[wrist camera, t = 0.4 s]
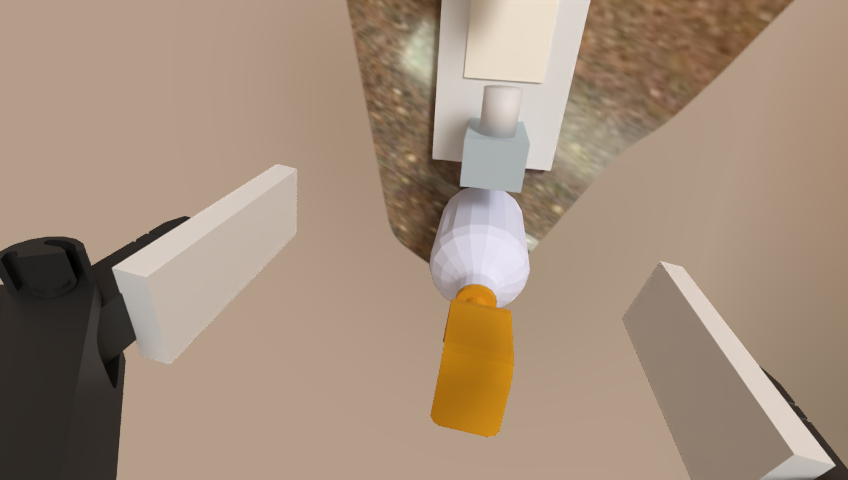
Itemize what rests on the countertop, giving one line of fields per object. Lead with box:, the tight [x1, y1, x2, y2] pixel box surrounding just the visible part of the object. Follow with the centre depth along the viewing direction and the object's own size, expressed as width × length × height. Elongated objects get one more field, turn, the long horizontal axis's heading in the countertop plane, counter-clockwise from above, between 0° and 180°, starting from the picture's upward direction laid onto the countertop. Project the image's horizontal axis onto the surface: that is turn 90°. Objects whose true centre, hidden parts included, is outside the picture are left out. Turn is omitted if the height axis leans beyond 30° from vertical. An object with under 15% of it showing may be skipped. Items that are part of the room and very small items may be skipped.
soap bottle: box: [429, 187, 530, 437], centre depth 31 cm, size 9×9×25 cm
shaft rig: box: [432, 0, 590, 193], centre depth 28 cm, size 24×12×9 cm, turn 177°
